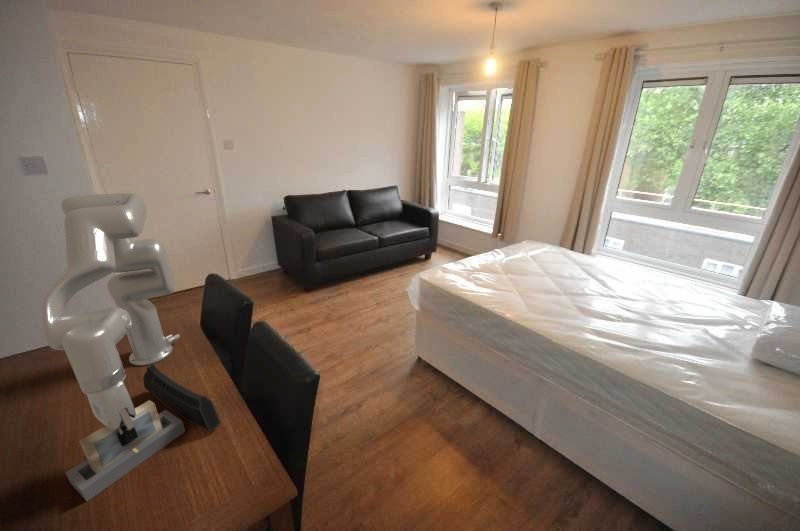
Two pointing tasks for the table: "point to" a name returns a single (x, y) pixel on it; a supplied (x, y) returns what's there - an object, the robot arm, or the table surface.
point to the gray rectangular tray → (124, 459)
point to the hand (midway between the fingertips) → (126, 438)
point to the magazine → (181, 399)
